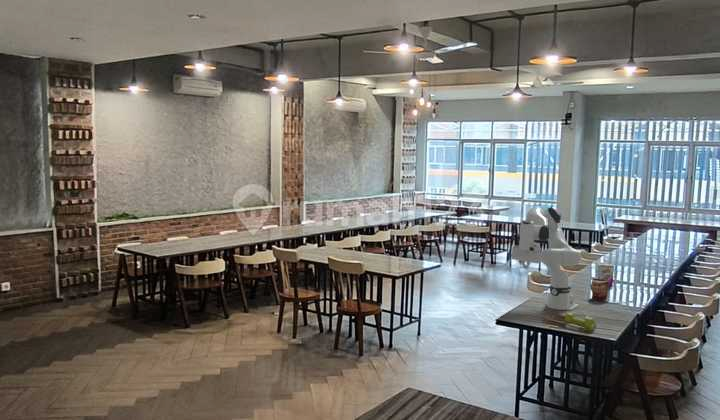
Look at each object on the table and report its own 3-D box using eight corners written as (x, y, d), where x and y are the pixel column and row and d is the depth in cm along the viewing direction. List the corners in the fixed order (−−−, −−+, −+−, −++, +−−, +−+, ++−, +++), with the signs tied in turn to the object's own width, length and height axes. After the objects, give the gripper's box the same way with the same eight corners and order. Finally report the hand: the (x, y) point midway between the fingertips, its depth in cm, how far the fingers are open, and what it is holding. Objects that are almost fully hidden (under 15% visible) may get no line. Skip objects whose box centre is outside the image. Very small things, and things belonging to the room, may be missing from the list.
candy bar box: (597, 285, 446) (598, 264, 444) (596, 284, 451) (597, 263, 449) (613, 286, 442) (614, 265, 441) (612, 285, 447) (613, 264, 446)
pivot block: (585, 322, 346) (585, 316, 345) (590, 324, 344) (590, 317, 343) (582, 323, 344) (583, 316, 343) (587, 325, 342) (587, 318, 341)
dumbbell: (562, 325, 340) (563, 313, 339) (569, 323, 345) (570, 311, 345) (589, 332, 328) (590, 320, 327) (596, 329, 333) (597, 317, 332)
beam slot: (555, 317, 356) (555, 313, 356) (595, 327, 337) (595, 323, 337) (542, 321, 347) (542, 317, 347) (583, 332, 328) (583, 327, 328)
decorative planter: (592, 294, 416) (593, 275, 415) (610, 297, 410) (611, 277, 409) (587, 300, 399) (588, 281, 397) (606, 303, 393) (607, 283, 391)
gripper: (509, 244, 366) (508, 266, 367) (537, 249, 350) (537, 271, 352) (515, 244, 370) (514, 265, 371) (543, 248, 354) (542, 270, 356)
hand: (525, 268), depth 361 cm, fingers closed
